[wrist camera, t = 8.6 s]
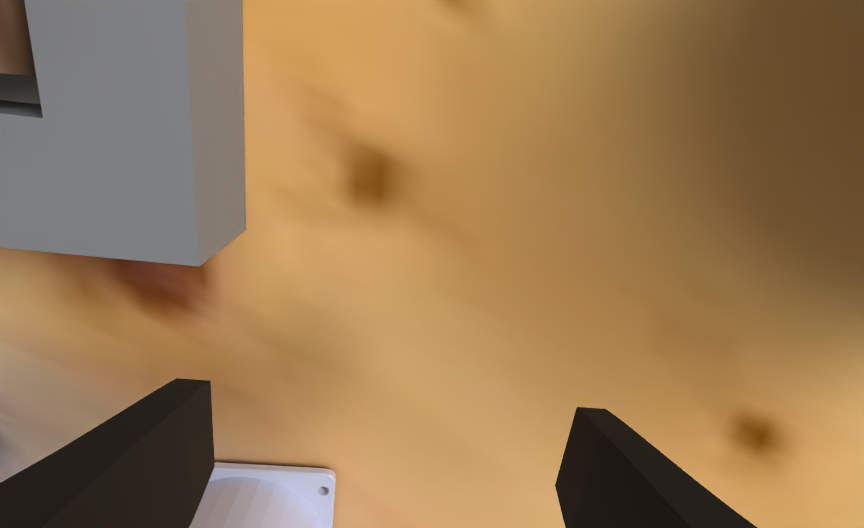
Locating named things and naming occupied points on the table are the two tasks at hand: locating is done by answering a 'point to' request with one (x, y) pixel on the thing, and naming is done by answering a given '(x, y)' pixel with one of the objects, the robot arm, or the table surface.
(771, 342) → the table surface
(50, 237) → the socket block
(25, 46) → the peg
